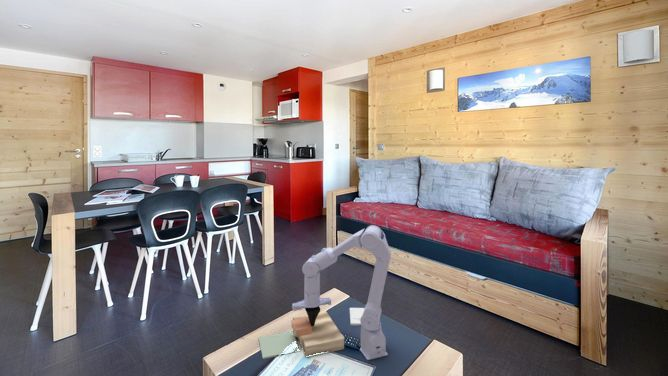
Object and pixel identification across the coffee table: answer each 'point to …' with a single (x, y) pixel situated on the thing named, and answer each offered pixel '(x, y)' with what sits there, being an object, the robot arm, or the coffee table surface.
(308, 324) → the tile
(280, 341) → the mat
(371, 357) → the robot arm
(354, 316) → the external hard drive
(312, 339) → the wavy block
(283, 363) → the coffee table surface
